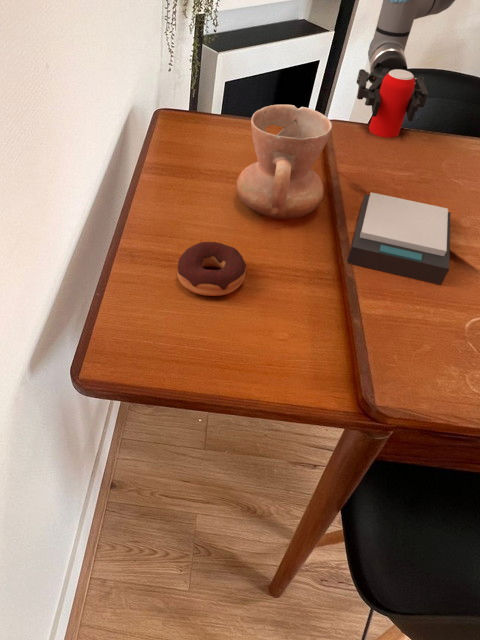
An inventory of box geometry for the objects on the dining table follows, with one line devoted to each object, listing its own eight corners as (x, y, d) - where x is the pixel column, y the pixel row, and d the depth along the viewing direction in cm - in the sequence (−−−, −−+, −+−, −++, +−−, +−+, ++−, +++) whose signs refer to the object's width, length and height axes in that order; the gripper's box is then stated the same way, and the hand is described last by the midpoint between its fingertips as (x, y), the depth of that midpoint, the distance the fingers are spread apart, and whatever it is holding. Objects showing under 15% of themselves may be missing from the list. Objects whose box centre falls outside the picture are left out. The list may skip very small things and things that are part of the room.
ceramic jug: (244, 174, 97) (254, 91, 86) (323, 187, 95) (343, 105, 84) (224, 227, 85) (232, 139, 74) (313, 243, 83) (335, 156, 72)
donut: (212, 249, 81) (214, 227, 78) (259, 281, 76) (263, 259, 73) (162, 275, 76) (162, 252, 73) (208, 311, 71) (210, 288, 68)
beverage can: (393, 130, 111) (413, 68, 102) (399, 144, 107) (421, 80, 98) (364, 128, 111) (382, 66, 102) (370, 142, 107) (389, 78, 98)
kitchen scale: (441, 285, 78) (452, 263, 75) (346, 263, 80) (353, 240, 77) (443, 228, 88) (453, 206, 85) (359, 210, 90) (366, 188, 87)
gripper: (426, 92, 118) (437, 137, 103) (340, 82, 119) (339, 125, 104) (439, 55, 112) (453, 97, 97) (349, 44, 114) (349, 84, 99)
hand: (394, 111), depth 101 cm, fingers closed on beverage can, 6 cm apart
